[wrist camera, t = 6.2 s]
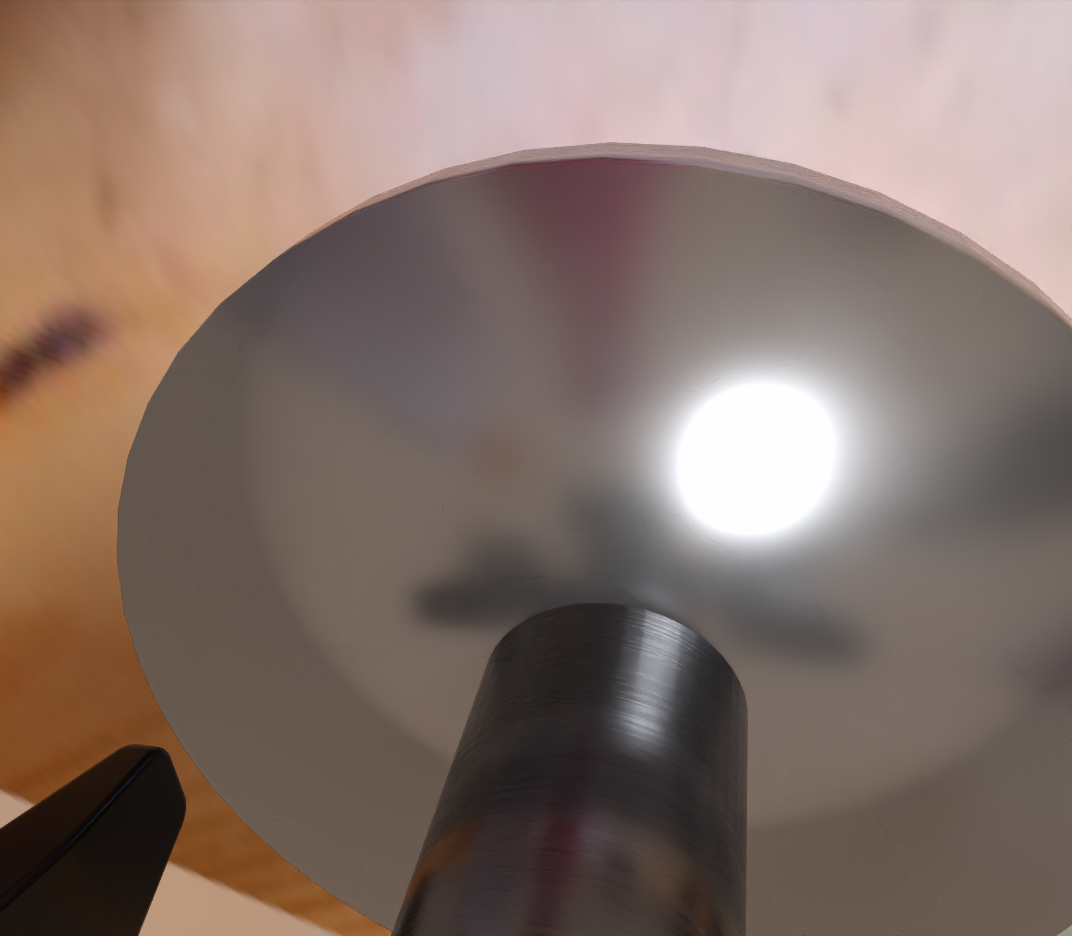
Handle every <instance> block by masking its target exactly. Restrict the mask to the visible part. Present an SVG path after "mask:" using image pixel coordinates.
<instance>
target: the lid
mask: <svg viewBox="0 0 1072 936" xmlns="http://www.w3.org/2000/svg"><path fill="white" fill-rule="evenodd" d="M117 563H118V571H119V578H120V585H121V592H122V600H123V607H124V613H125V616H126V620H127V623H128V627H129V630H130V634H131V637H132V640H133V644H134V647H135V651H136V654H137V658H138V661H139V663H140V665H141V668H142V670H143V672H144V674H145V677H146V679H147V681H148V684H149V686H150V688H151V690H152V693H153V695H154V697H155V700H156V702H157V704H158V706H159V708H160V710H161V711H162V713H163V715H164V716H165V718H166V720H167V722H168V723H169V725H170V727H171V728H172V730H173V732H174V733H175V735H176V737H177V738H178V740H179V742H180V744H181V745H182V747H183V749H184V750H185V751H186V753H187V754H188V755H189V757H190V758H191V759H192V761H193V762H194V763H195V765H196V766H197V767H198V769H199V770H200V771H201V773H202V774H203V776H204V777H205V778H206V780H207V781H208V782H209V784H210V785H211V786H212V788H213V789H214V790H215V791H216V792H217V793H218V794H219V795H220V797H221V798H222V799H223V800H224V801H225V802H226V803H227V804H228V805H229V806H230V808H231V809H232V810H233V811H234V812H235V813H236V814H237V815H238V816H239V817H240V818H241V820H242V821H243V822H244V823H245V824H246V825H247V826H248V827H249V828H250V829H251V830H252V831H253V832H255V833H256V834H257V835H258V836H259V837H260V838H261V839H262V840H263V841H264V842H266V843H267V844H268V845H269V846H270V847H271V848H272V849H273V850H274V851H275V852H277V853H278V854H279V855H280V856H281V857H282V858H283V859H284V860H285V861H287V862H288V863H289V864H291V865H292V866H293V867H295V868H296V869H297V870H298V871H300V872H301V873H302V874H304V875H305V876H306V877H308V878H309V879H310V880H312V881H313V882H314V883H316V884H317V885H318V886H320V887H321V888H322V889H323V890H325V891H326V892H328V893H329V894H331V895H332V896H334V897H335V898H337V899H339V900H340V901H342V902H343V903H345V904H346V905H348V906H349V907H351V908H353V909H354V910H356V911H357V912H359V913H360V914H362V915H364V916H365V917H367V918H368V919H370V920H372V921H373V922H375V923H377V924H379V925H381V926H383V927H385V928H387V929H388V930H390V931H392V934H391V936H1057V935H1059V934H1060V933H1061V932H1063V931H1064V930H1066V929H1067V928H1069V927H1070V926H1071V925H1072V319H1071V318H1070V317H1069V316H1068V315H1067V314H1066V313H1065V312H1064V311H1063V310H1062V309H1061V308H1060V307H1059V306H1057V305H1056V304H1055V303H1054V302H1053V301H1052V300H1051V299H1050V298H1049V297H1048V296H1047V295H1046V294H1045V293H1044V292H1043V291H1042V290H1041V289H1040V288H1038V287H1037V286H1036V285H1035V284H1034V283H1033V282H1032V281H1030V280H1029V279H1027V278H1026V277H1025V276H1023V275H1022V274H1020V273H1019V272H1017V271H1016V270H1014V269H1013V268H1011V267H1010V266H1009V265H1007V264H1006V263H1004V262H1003V261H1001V260H1000V259H998V258H997V257H996V256H994V255H993V254H991V253H990V252H988V251H987V250H985V249H984V248H983V247H981V246H980V245H978V244H977V243H975V242H974V241H972V240H971V239H969V238H968V237H967V236H965V235H964V234H962V233H961V232H959V231H957V230H955V229H953V228H950V227H948V226H946V225H944V224H942V223H940V222H938V221H936V220H934V219H932V218H930V217H928V216H926V215H924V214H922V213H920V212H918V211H916V210H914V209H912V208H910V207H908V206H906V205H904V204H902V203H900V202H898V201H896V200H894V199H892V198H890V197H888V196H886V195H884V194H882V193H880V192H876V191H873V190H870V189H867V188H864V187H861V186H858V185H855V184H852V183H849V182H846V181H843V180H840V179H837V178H834V177H831V176H828V175H825V174H822V173H819V172H816V171H813V170H810V169H807V168H804V167H801V166H798V165H795V164H791V163H786V162H781V161H775V160H770V159H765V158H759V157H754V156H748V155H743V154H738V153H732V152H727V151H721V150H716V149H711V148H705V147H695V146H674V145H653V144H633V143H612V142H611V143H600V144H588V145H577V146H566V147H554V148H543V149H532V150H523V151H519V152H514V153H510V154H506V155H501V156H497V157H493V158H489V159H484V160H480V161H476V162H471V163H467V164H463V165H458V166H454V167H450V168H445V169H442V170H440V171H437V172H435V173H432V174H430V175H427V176H425V177H422V178H419V179H417V180H414V181H412V182H409V183H407V184H404V185H402V186H399V187H396V188H394V189H391V190H389V191H386V192H384V193H381V194H379V195H376V196H373V197H371V198H370V199H368V200H366V201H364V202H363V203H361V204H359V205H358V206H356V207H354V208H352V209H351V210H349V211H347V212H345V213H344V214H342V215H340V216H339V217H337V218H335V219H333V220H332V221H330V222H328V223H327V224H325V225H323V226H321V227H320V228H318V229H316V230H314V231H313V232H311V233H309V234H308V235H307V236H305V237H304V238H303V239H301V240H300V241H299V242H297V243H296V244H295V245H293V246H292V247H291V248H289V249H288V250H286V251H285V252H284V253H282V254H281V255H280V256H278V257H277V258H276V259H274V260H273V261H272V262H271V263H269V264H268V265H267V266H266V267H265V268H263V269H262V270H261V271H260V272H258V273H257V274H256V275H255V276H254V277H252V278H251V279H250V280H249V281H247V282H246V283H245V284H244V285H243V286H241V287H240V288H239V289H238V290H236V291H235V292H234V293H233V294H232V295H230V296H229V297H228V298H227V299H225V300H224V301H223V302H222V303H221V304H220V305H219V306H218V307H217V308H216V309H215V311H214V312H213V313H212V314H211V315H210V316H209V318H208V319H207V320H206V321H205V322H204V323H203V324H202V326H201V327H200V328H199V329H198V330H197V331H196V333H195V334H194V335H193V336H192V337H191V338H190V339H189V341H188V342H187V343H186V344H185V345H184V346H183V348H182V349H181V350H180V351H179V352H178V354H177V356H176V357H175V359H174V361H173V362H172V364H171V366H170V367H169V369H168V371H167V372H166V374H165V376H164V377H163V379H162V381H161V382H160V384H159V386H158V387H157V389H156V391H155V392H154V394H153V396H152V398H151V399H150V401H149V403H148V405H147V407H146V410H145V413H144V415H143V418H142V421H141V423H140V426H139V429H138V431H137V434H136V437H135V439H134V442H133V444H132V447H131V450H130V452H129V455H128V459H127V465H126V470H125V475H124V481H123V486H122V491H121V497H120V502H119V507H118V543H117Z"/></svg>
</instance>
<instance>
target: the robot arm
mask: <svg viewBox="0 0 1072 936" xmlns="http://www.w3.org/2000/svg"><path fill="white" fill-rule="evenodd" d="M185 812H186V800H185V796H184V793H183V790H182V787H181V785H180V782H179V779H178V777H177V774H176V771H175V768H174V766H173V763H172V760H171V758H170V755H169V754H168V752H167V751H166V750H164V749H163V748H160V747H154V746H146V745H138V744H131V745H127V746H124V747H122V748H120V749H118V750H117V751H115V752H114V753H112V754H111V755H109V756H108V757H106V758H105V759H103V760H102V761H100V762H99V763H97V764H96V765H94V766H93V767H91V768H90V769H88V770H87V771H85V772H84V773H82V774H81V775H79V776H78V777H76V778H75V779H73V780H72V781H70V782H69V783H67V784H66V785H64V786H63V787H62V788H60V789H59V790H57V791H56V792H54V793H53V794H51V795H50V796H48V797H47V798H45V799H44V800H42V801H41V802H39V803H38V804H36V805H35V806H33V807H32V808H30V809H29V810H27V811H26V812H24V813H23V814H21V815H20V816H18V817H17V818H15V819H14V820H12V821H11V822H9V823H8V824H6V825H5V826H3V827H2V828H0V936H138V935H139V933H140V930H141V927H142V925H143V923H144V920H145V918H146V915H147V913H148V910H149V907H150V905H151V902H152V900H153V897H154V895H155V892H156V890H157V887H158V885H159V882H160V880H161V877H162V875H163V872H164V869H165V867H166V865H167V862H168V860H169V857H170V855H171V852H172V850H173V847H174V845H175V842H176V839H177V837H178V834H179V832H180V829H181V827H182V824H183V821H184V817H185Z"/></svg>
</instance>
